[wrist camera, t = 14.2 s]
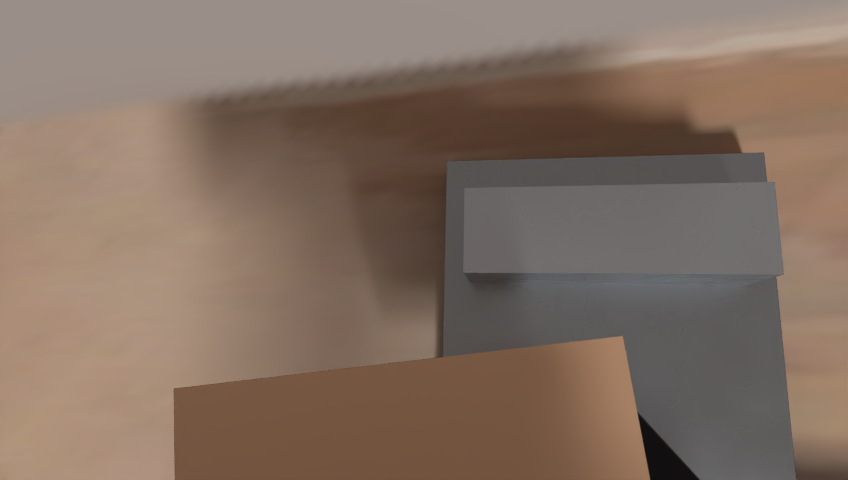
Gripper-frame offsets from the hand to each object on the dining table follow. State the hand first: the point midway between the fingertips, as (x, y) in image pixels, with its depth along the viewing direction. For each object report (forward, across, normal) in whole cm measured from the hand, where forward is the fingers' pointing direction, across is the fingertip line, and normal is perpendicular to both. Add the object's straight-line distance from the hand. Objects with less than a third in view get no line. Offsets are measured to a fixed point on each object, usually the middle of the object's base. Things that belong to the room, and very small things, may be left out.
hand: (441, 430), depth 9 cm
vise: (+8, -4, +11) cm, 14 cm away
